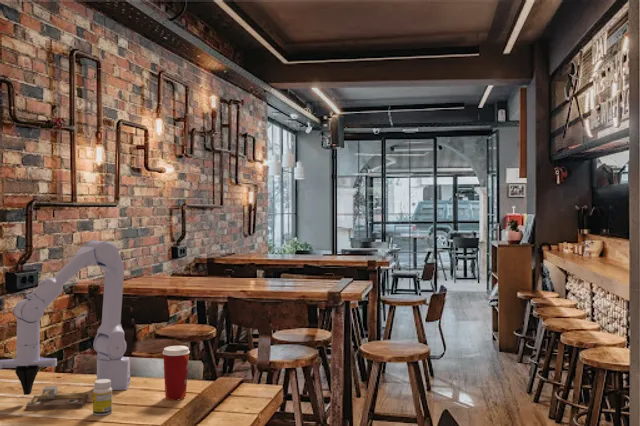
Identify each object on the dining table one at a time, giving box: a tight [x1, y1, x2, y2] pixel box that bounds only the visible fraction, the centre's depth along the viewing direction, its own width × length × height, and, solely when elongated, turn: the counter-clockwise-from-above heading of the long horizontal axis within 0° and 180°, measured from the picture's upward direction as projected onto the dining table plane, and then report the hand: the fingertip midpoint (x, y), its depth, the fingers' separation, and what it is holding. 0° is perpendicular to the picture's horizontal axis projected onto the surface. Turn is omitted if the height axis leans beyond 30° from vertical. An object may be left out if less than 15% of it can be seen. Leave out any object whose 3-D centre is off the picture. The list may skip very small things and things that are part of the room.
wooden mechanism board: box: [25, 392, 90, 411], centre depth 168 cm, size 14×9×2 cm, turn 100°
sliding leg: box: [42, 385, 58, 399], centre depth 167 cm, size 3×7×3 cm, turn 10°
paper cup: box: [161, 345, 191, 401], centre depth 175 cm, size 8×8×14 cm
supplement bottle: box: [92, 379, 113, 417], centre depth 160 cm, size 5×5×8 cm
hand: (27, 393), depth 168 cm, fingers closed
